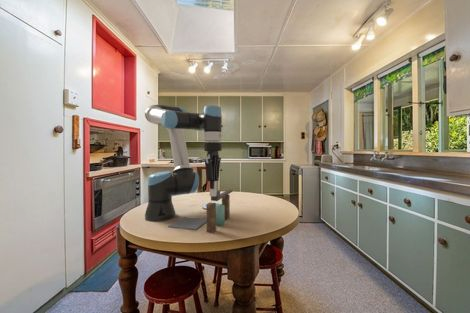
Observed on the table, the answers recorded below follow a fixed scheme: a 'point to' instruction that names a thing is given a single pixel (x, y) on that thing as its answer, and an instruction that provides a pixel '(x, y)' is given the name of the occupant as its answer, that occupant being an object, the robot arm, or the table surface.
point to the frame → (212, 213)
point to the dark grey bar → (220, 195)
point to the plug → (220, 215)
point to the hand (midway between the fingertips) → (213, 195)
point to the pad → (188, 223)
